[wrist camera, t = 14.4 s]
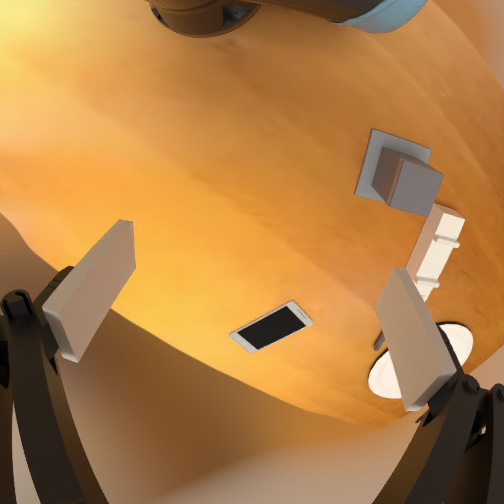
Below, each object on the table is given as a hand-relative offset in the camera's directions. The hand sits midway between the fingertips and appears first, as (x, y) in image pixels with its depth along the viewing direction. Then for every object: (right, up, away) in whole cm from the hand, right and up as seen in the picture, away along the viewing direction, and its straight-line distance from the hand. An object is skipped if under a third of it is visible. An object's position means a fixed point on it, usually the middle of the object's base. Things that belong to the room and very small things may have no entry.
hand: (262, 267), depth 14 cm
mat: (+20, +13, +24) cm, 34 cm away
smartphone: (+3, -14, +42) cm, 45 cm away
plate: (+41, -26, +47) cm, 68 cm away
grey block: (+20, +12, +24) cm, 33 cm away
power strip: (+28, -6, +35) cm, 45 cm away
